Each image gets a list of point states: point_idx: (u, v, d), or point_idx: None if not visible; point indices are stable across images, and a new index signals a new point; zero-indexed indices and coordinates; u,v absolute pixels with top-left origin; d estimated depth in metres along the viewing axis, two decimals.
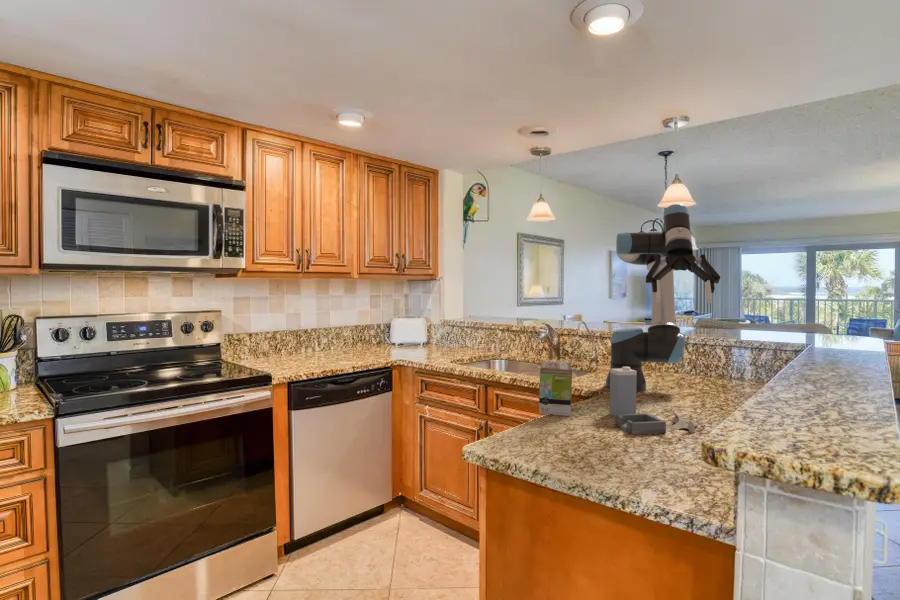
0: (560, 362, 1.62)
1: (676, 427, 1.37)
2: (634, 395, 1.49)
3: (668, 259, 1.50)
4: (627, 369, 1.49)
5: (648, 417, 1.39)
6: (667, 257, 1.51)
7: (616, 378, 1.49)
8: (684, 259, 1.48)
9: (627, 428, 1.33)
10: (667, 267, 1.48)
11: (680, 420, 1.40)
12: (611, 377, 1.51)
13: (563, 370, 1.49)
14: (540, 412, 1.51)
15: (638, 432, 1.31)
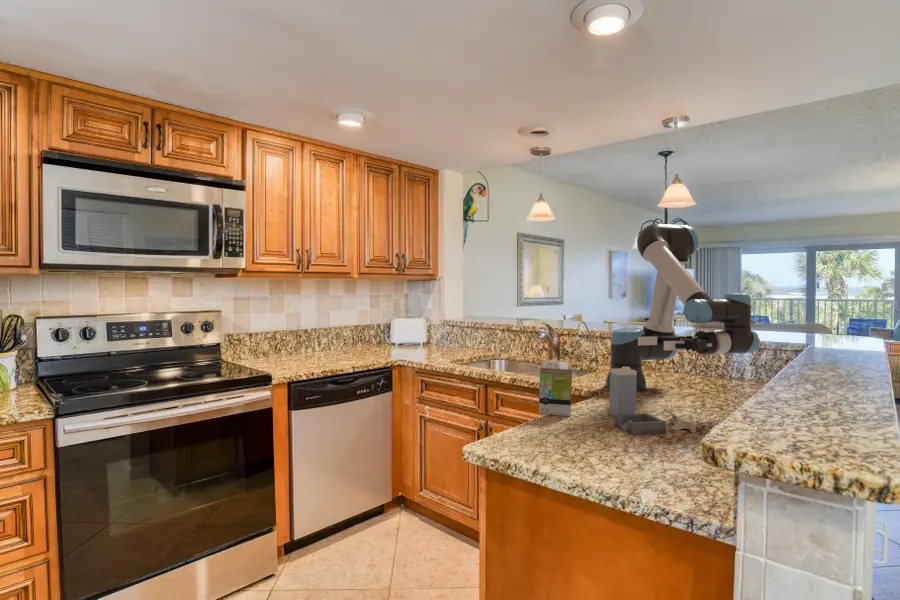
0: (560, 362, 1.62)
1: (677, 428, 1.37)
2: (634, 395, 1.49)
3: None
4: (627, 369, 1.49)
5: (648, 417, 1.39)
6: None
7: (616, 378, 1.49)
8: None
9: (627, 428, 1.33)
10: None
11: (679, 420, 1.40)
12: (611, 377, 1.51)
13: (563, 370, 1.49)
14: (540, 412, 1.51)
15: (638, 432, 1.31)
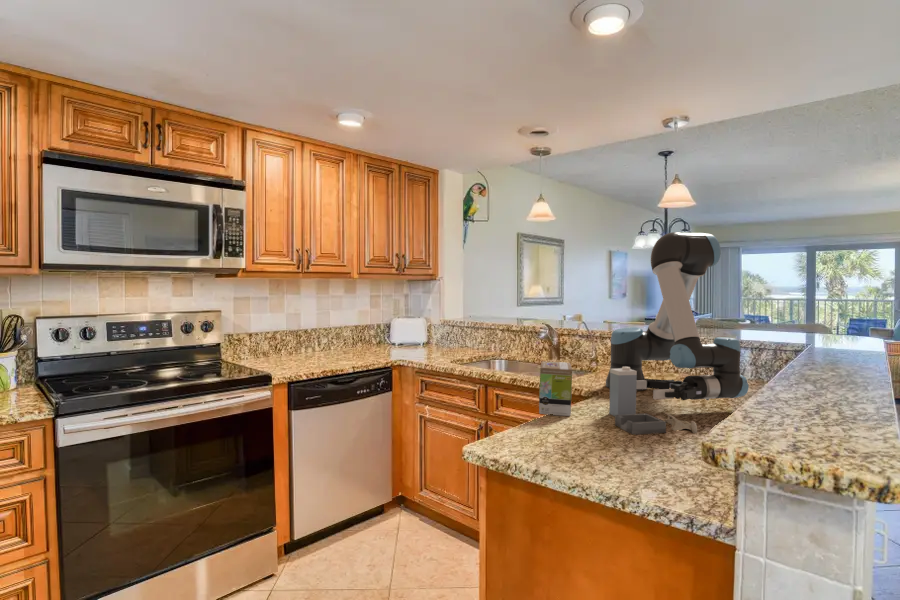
0: (560, 362, 1.62)
1: (677, 428, 1.36)
2: (634, 395, 1.49)
3: None
4: (627, 369, 1.49)
5: (648, 417, 1.39)
6: None
7: (616, 378, 1.49)
8: None
9: (627, 428, 1.33)
10: None
11: (676, 421, 1.40)
12: (611, 377, 1.51)
13: (563, 370, 1.49)
14: (540, 412, 1.51)
15: (638, 432, 1.31)
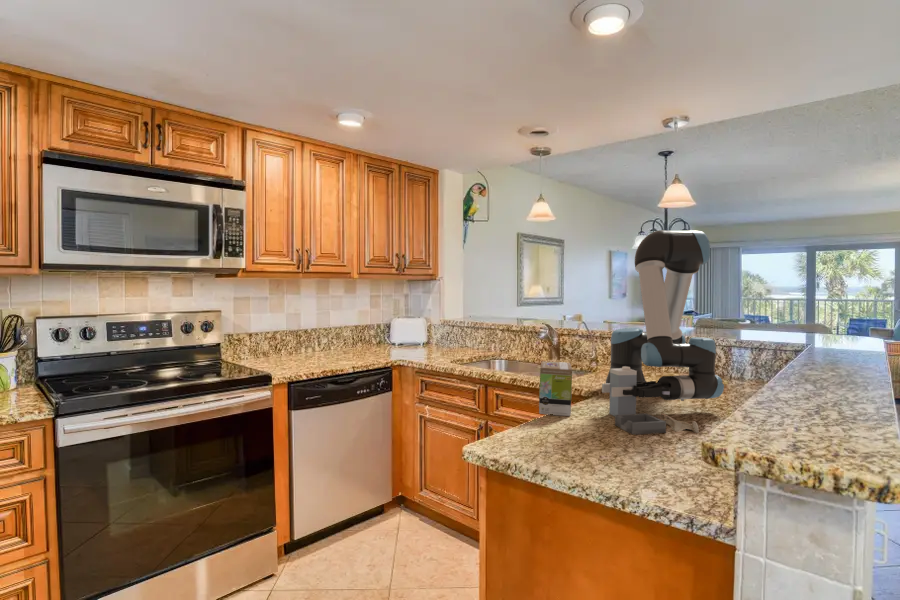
0: (560, 362, 1.62)
1: (679, 429, 1.36)
2: None
3: None
4: (627, 369, 1.49)
5: (648, 417, 1.39)
6: None
7: (616, 378, 1.49)
8: None
9: (627, 428, 1.33)
10: None
11: (675, 421, 1.39)
12: (611, 377, 1.51)
13: (563, 370, 1.49)
14: (540, 412, 1.51)
15: (638, 432, 1.31)
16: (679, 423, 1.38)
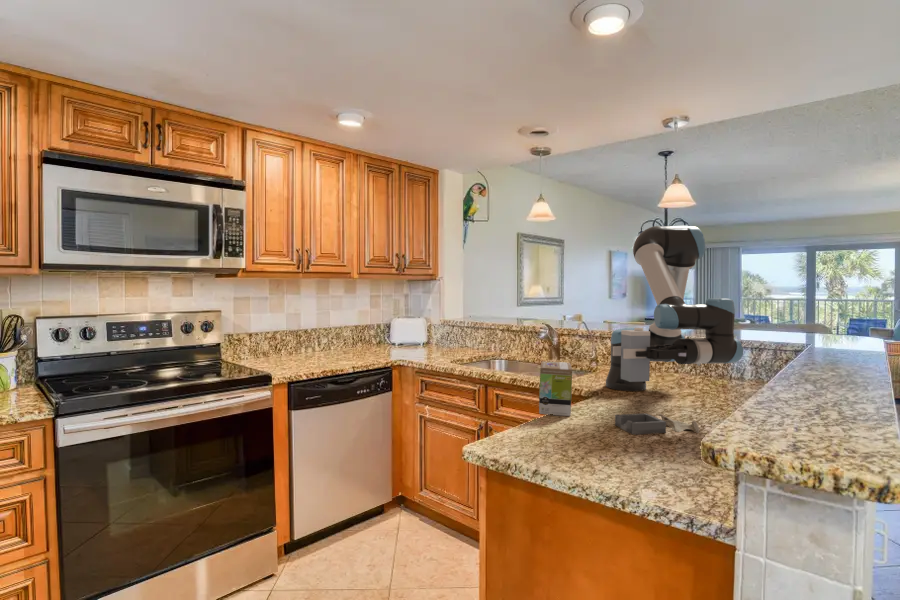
0: (560, 362, 1.62)
1: (679, 429, 1.35)
2: None
3: None
4: (640, 330, 1.39)
5: (648, 417, 1.39)
6: None
7: (628, 339, 1.38)
8: None
9: (627, 428, 1.33)
10: None
11: (674, 421, 1.39)
12: (622, 339, 1.41)
13: (563, 370, 1.49)
14: (540, 412, 1.51)
15: (638, 432, 1.31)
16: (678, 423, 1.38)
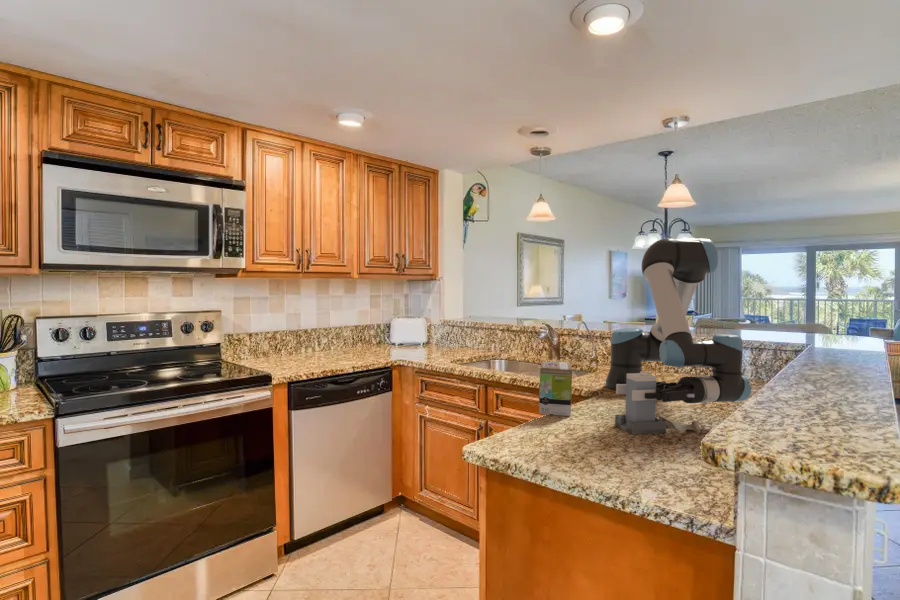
0: (560, 362, 1.62)
1: (681, 430, 1.34)
2: (653, 403, 1.34)
3: None
4: (646, 374, 1.35)
5: None
6: None
7: (633, 385, 1.34)
8: None
9: (627, 428, 1.33)
10: None
11: (673, 422, 1.38)
12: (628, 383, 1.37)
13: (563, 370, 1.49)
14: (540, 412, 1.51)
15: (638, 432, 1.31)
16: (677, 424, 1.37)
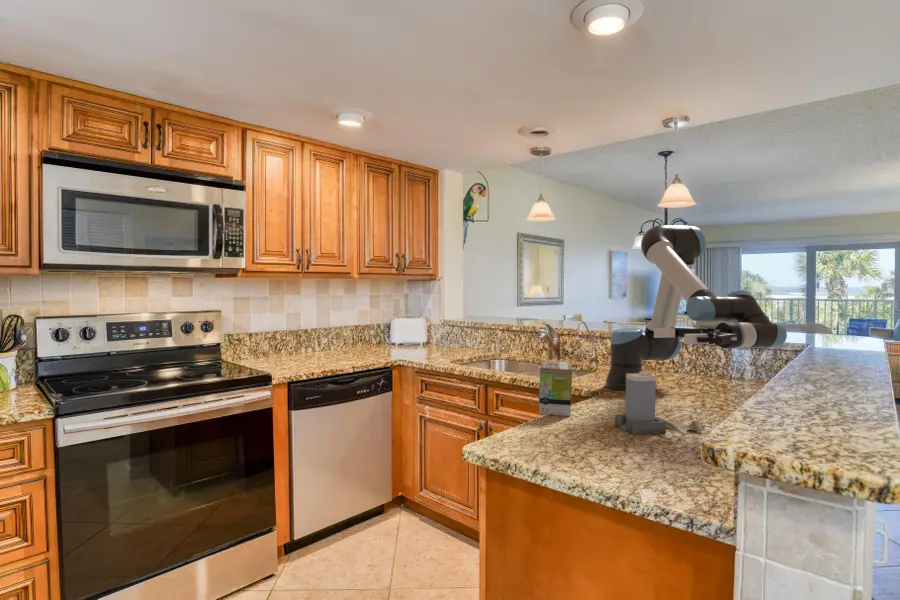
0: (560, 362, 1.62)
1: (683, 431, 1.34)
2: (653, 403, 1.34)
3: None
4: (645, 374, 1.35)
5: None
6: None
7: (633, 384, 1.34)
8: None
9: (627, 428, 1.33)
10: None
11: (672, 423, 1.37)
12: (627, 383, 1.37)
13: (563, 370, 1.49)
14: (540, 412, 1.51)
15: (638, 432, 1.31)
16: (677, 425, 1.37)
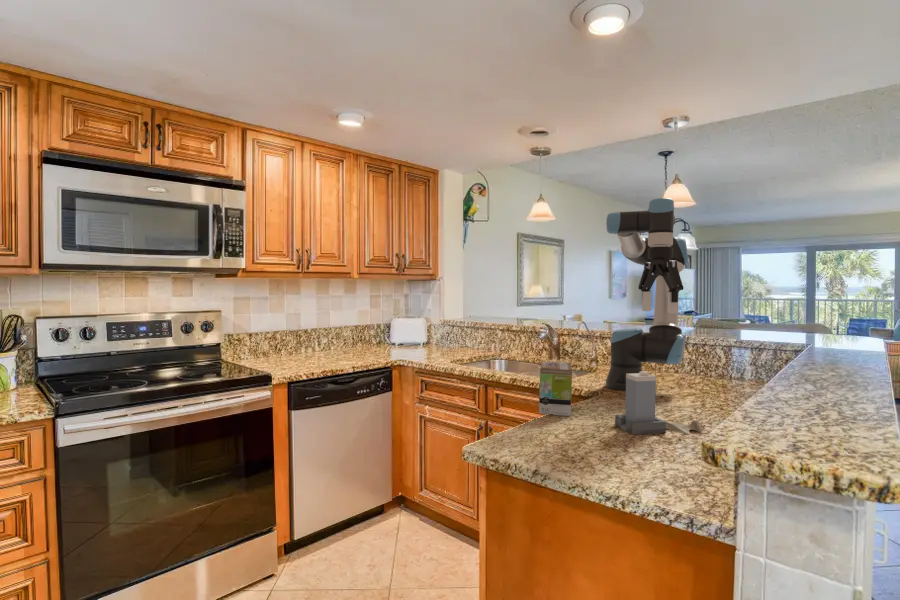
0: (560, 362, 1.62)
1: (686, 431, 1.33)
2: (653, 403, 1.34)
3: None
4: (645, 374, 1.35)
5: None
6: None
7: (633, 384, 1.34)
8: None
9: (627, 428, 1.33)
10: None
11: (673, 424, 1.36)
12: (627, 383, 1.37)
13: (563, 370, 1.49)
14: (540, 412, 1.51)
15: (638, 432, 1.31)
16: (678, 425, 1.36)
